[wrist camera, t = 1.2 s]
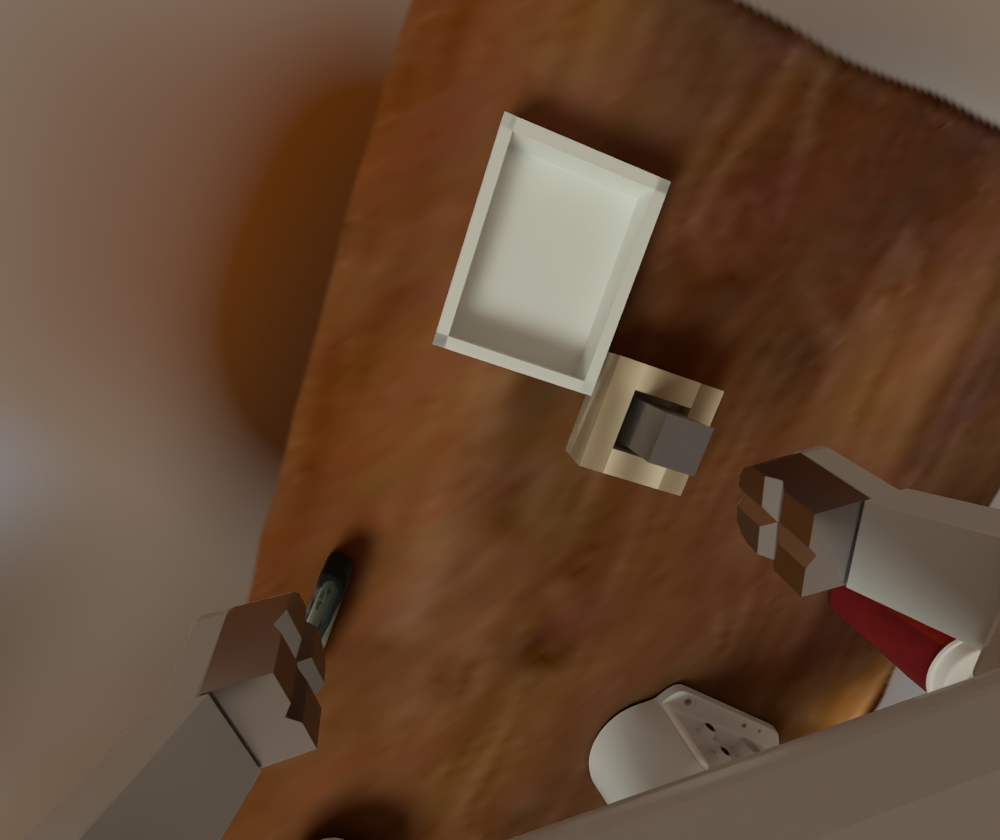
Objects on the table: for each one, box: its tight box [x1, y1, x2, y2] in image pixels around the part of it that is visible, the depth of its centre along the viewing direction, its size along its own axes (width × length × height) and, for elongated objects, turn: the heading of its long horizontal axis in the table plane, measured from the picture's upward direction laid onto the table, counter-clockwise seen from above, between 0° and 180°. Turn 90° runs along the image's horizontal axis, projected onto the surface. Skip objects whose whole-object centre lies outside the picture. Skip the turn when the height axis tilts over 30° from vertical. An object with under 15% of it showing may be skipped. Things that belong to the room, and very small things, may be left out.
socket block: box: [565, 352, 724, 496], centre depth 46 cm, size 10×10×5 cm
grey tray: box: [433, 111, 671, 396], centre depth 42 cm, size 14×18×4 cm
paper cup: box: [829, 585, 981, 693], centre depth 49 cm, size 8×8×14 cm
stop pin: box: [616, 396, 714, 476], centre depth 43 cm, size 4×4×9 cm
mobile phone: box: [305, 552, 353, 648], centre depth 47 cm, size 5×3×15 cm
